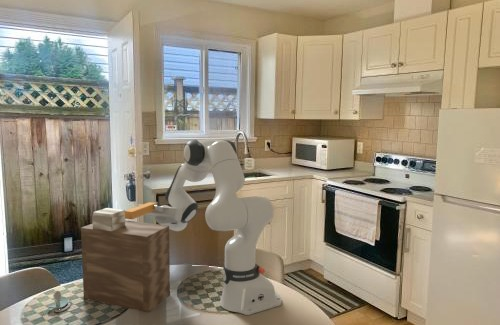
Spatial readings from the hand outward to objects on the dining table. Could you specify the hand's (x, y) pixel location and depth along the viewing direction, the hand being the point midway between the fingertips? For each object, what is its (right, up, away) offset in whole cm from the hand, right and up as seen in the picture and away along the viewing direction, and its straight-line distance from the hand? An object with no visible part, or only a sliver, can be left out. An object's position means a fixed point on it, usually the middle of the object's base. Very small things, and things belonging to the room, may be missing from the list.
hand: (149, 206), depth 163 cm
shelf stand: (-3, -32, -19) cm, 37 cm away
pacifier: (-24, -33, -28) cm, 50 cm away
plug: (-2, -2, -5) cm, 6 cm away
